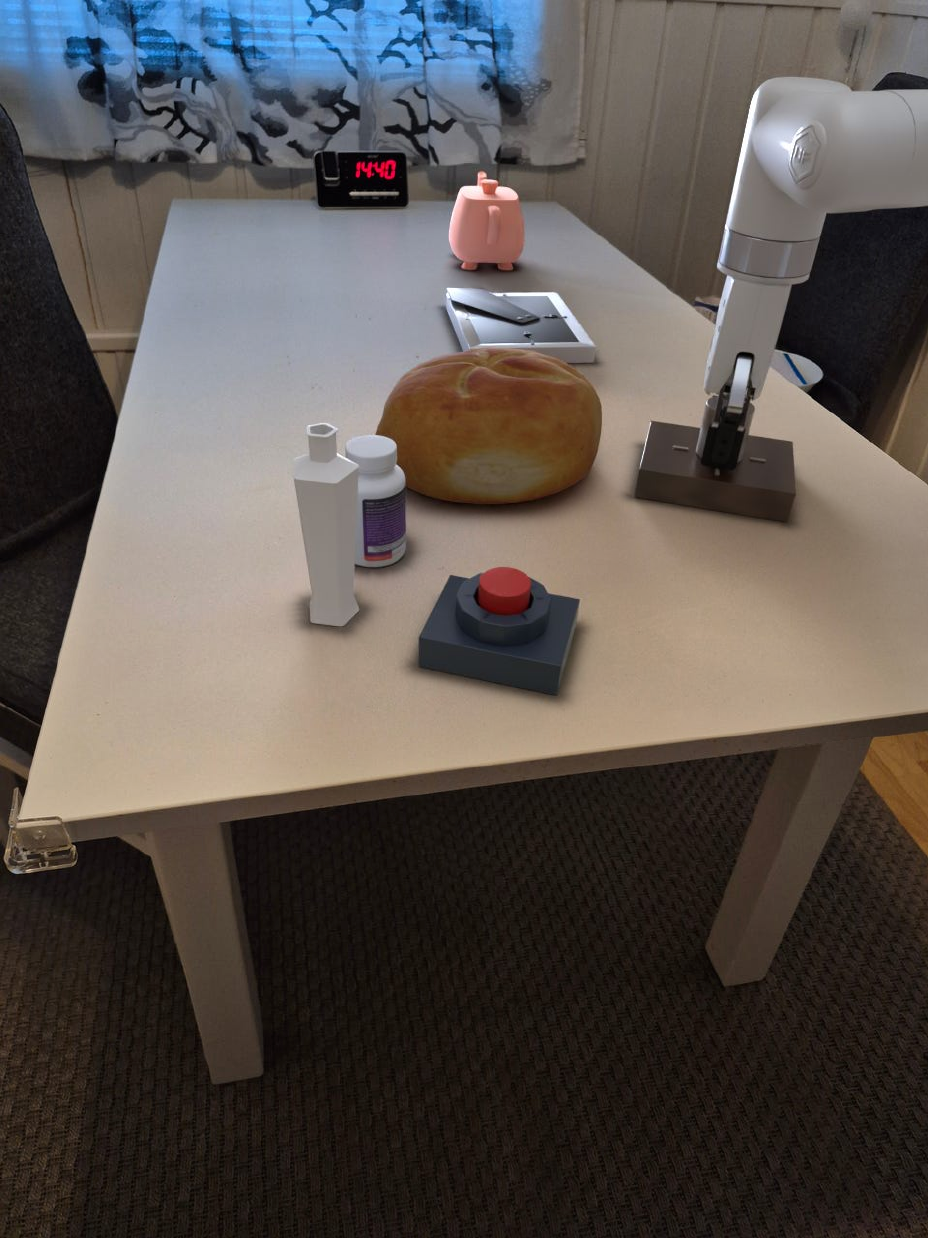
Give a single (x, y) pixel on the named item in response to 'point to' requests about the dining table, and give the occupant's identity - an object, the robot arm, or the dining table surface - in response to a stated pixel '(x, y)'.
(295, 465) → the perfume bottle
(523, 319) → the picture frame
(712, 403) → the knob
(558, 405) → the bread
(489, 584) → the button
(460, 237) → the teapot
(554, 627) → the button box
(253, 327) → the dining table surface
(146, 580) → the dining table surface
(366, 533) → the pill bottle
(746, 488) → the dial panel
